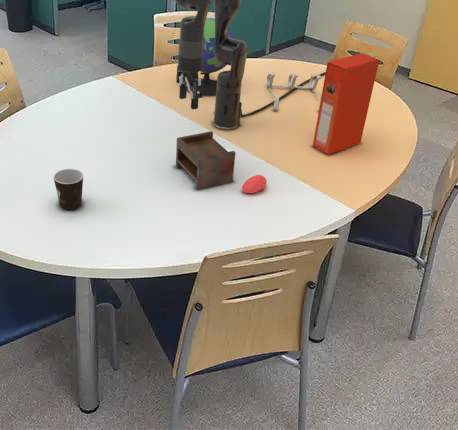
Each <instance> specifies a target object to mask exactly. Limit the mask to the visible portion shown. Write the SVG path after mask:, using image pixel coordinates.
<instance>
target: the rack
mask: <svg viewBox="0 0 458 430" xmlns="http://www.w3.org/2000/svg"><path fill="white" fill-rule="evenodd" d="M175 149H176V151H175V168H176V169H181V168H183V170H184V171H186V173H187V174H188V175H189V176H190V177H191V178H192V179H193V180H194V181H195V189H196V190H197V191H199V190H204V189H207V188H212V187H217V186H222V185H224V184H229V183H233V179H234V171H235V161H236V151H235V150H231V151H228V150H227V149H226V148H225V147H224V146H222V145H221V144H220V143H219V142H218V141H217V140H216V139H214V132H213V131H212V130H211V131H210V130H209V131H206V132H200V133H194V134H189V135H184V136H179V137H176V148H175Z"/></svg>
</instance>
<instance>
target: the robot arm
mask: <svg viewBox="0 0 458 430" xmlns="http://www.w3.org/2000/svg"><path fill="white" fill-rule="evenodd" d="M212 2H213V8H214V9H213V11H214V19H215V43H214V53H215V58H216V60H217V61H218V62H220V63H223V64H227V66H230V70H223V71H221V72H219V73H218V74H217V77H216V80H217V87H216V96H215V102H214V111H213V114H214V115H213V126H214V127H215V128H217V129H220V130H227V131H230V130H234V129H236V128H238V127H240V124H241V118H244V117H249V116H252V115H253V114H256V113H258V112H261V111H263V110H265V109H266V108H268V107H270V106H273V105H274V100H273V101H271V102H270V103H267V104H266V105H264V106H262V107H260V108H257V109H256V110H253V111H251V112H249V113H247V114H243V109H242V107H243V103H242V102H241V95H242V84H243V83H242V82H243V79H244V75H245V70H246V69H245V68H246V64H247V63H246V62H247V56H248V44H247V43H246V42H245V41H244V40H240V39H238V38H237V39H236V38H234V39H233V38H229V33H228V31H229V29H230V24H231V22H232V21H233V19H234V18H235V16H236V15H237V13H238V11H239V10H240V8H241V5H242V0H175V4H176V5H177V6H178V7H179V8H181V9H185V10H186V9H187V10H193V11H196V14H195V15H188V16H184V17H182V18H181V20H180V26H179V27H180V28H179V42H178V54H177V59H178V60H177V66H176V79H175V82H176V84H178V85H177V86H178V87H179V90H178V91H179V93H178V98H179V99H180V100H184V99H187V93H188V92H189V91H190V92H189V94H190V109H191V110H197V109H199V99H203V98H204V96H203V78H199V72H200V70H202V68H203V53H204V26H205V21H206V19H207V18H208V14H209V10H210V8H211V5H212ZM325 74H326V71H325V72H322V73H319V74H318V75H320V76H321V77H322V76H325ZM316 77H317V75H315V77H314V79H313V80H316ZM309 82H310V78H309V79H307V80H305V81H303V82H301V83H299V84H298V85H297V86H300V87H303V86H304V85H305V84H307V83H309ZM186 86H187V87H188V90H187V87H186ZM191 87H194V88H191ZM297 89H298V88H292V89H291V90H289V91H287V92H286V93H284V94H283V95H281V96H279V97H278V98H279V101H281V100H282V99H283V98H285V97H286V96H288V95H289V94H291V93H292V92H294V91H295V90H297ZM187 91H188V92H187ZM193 91H194V93H193ZM199 91H200V93H199Z"/></svg>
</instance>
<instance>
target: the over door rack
mask: <svg viewBox="0 0 458 430" xmlns="http://www.w3.org/2000/svg"><path fill="white" fill-rule="evenodd" d="M288 75H289V76H288V80H287V85H282V84H281V85H280V84H273V83H274V78H275V77H276V73H275V72H268V73H267V76H266V87H268V88H269V90H270V91H271V93H272V95H273V99H274V100H273V101H274V104H273V108H272V110H273V111H278V110H279V104H280V100H279V98H280V97H277V95H276V93H275V92H274V91H273V89H272V88H290V89H291V88H292V89H293V88H297V89H307V90H311V91H312V92H313V93H314V94H316V95H317V96H318V98H319V100H320V101H321V96H322V95H320V94H319V93H318V92H317V91H316V90H315V89H316V88H317V86H318V83H319V80H321V79H322V76H320V75H319V74H317V75H315V74H314V73H313V74H310V78H309V79H310V81H309V82H308V85H309V86H298V85H296V80H297V78H299V74H298V73H294V74H293V72H291V73H289V74H288ZM315 76H317V77H316V78H315V79H314V77H315ZM313 82H314V83H313Z"/></svg>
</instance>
